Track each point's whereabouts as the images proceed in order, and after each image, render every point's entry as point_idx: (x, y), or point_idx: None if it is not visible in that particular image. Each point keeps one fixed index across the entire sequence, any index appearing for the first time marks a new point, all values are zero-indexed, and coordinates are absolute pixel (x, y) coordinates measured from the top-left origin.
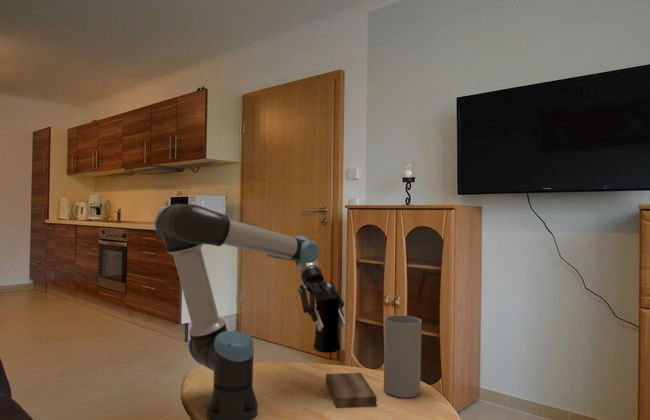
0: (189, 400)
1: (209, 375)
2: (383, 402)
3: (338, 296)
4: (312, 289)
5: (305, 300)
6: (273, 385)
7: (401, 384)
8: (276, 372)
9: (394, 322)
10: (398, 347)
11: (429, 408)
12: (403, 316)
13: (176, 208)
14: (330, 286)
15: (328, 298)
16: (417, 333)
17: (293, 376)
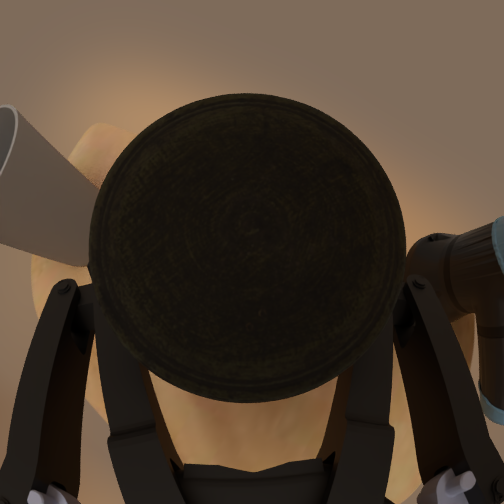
0: (470, 357)
1: (411, 465)
2: None
3: (132, 150)
4: (378, 487)
5: (448, 332)
6: (330, 390)
7: (96, 187)
8: (287, 460)
9: (17, 124)
10: (57, 152)
11: (102, 146)
12: None
13: None
14: (44, 498)
15: (306, 109)
16: (6, 127)
17: (261, 426)
